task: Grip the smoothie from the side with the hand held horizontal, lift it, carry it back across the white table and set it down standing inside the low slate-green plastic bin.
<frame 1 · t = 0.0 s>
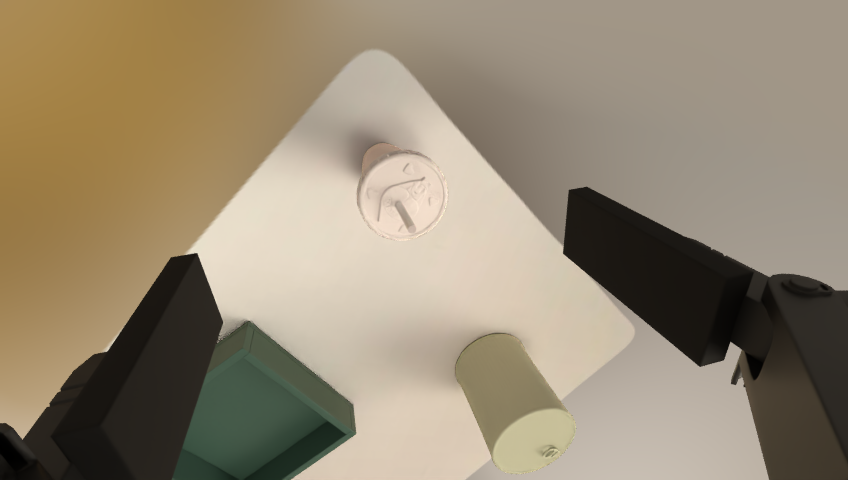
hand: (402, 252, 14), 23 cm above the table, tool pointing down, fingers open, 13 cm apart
can: (489, 362, 50), on the table
smoothie: (382, 163, 36), on the table
bin: (245, 409, 44), on the table
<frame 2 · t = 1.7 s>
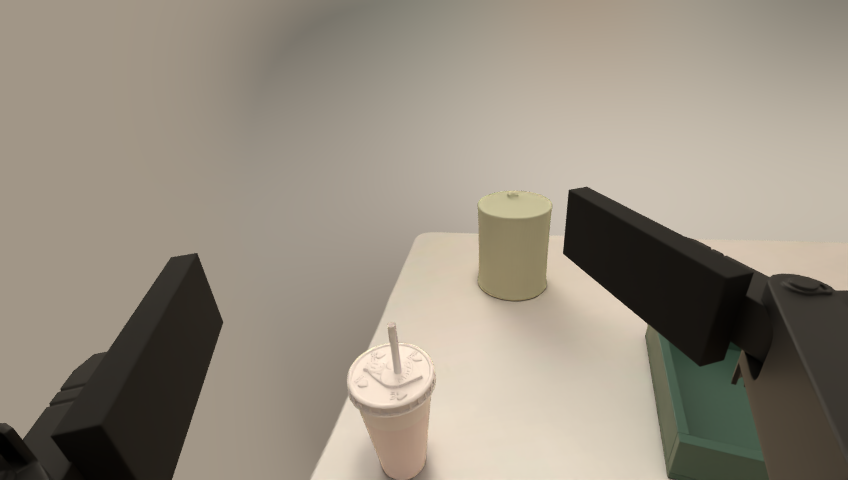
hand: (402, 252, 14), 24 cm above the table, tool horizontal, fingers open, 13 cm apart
can: (511, 282, 55), on the table
smoothie: (403, 459, 33), on the table
bin: (764, 416, 34), on the table
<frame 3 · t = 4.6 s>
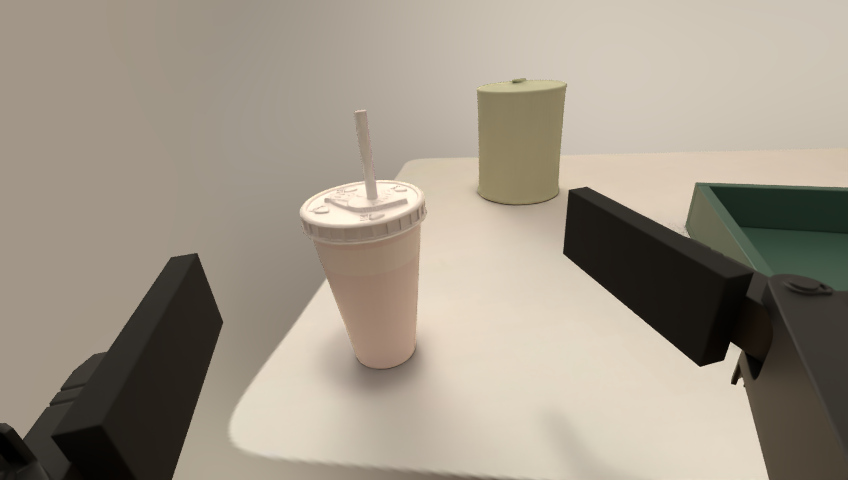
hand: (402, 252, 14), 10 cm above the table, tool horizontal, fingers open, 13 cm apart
can: (517, 191, 47), on the table
smoothie: (386, 349, 25), on the table
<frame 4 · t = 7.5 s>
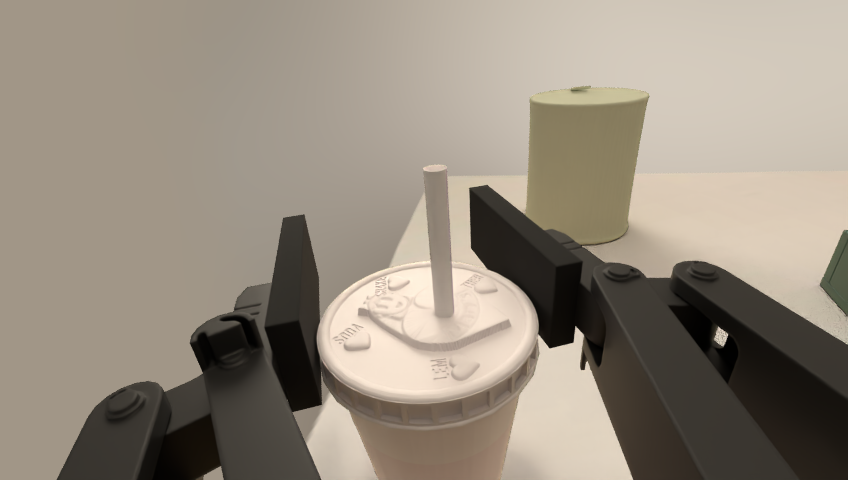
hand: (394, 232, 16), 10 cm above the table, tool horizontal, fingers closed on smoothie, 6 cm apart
can: (573, 224, 38), on the table
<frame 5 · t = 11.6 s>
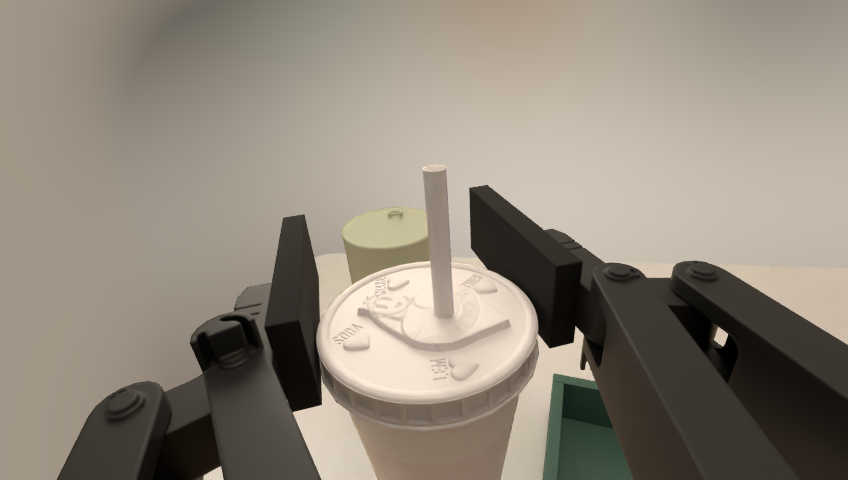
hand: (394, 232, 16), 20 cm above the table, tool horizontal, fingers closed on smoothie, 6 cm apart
can: (402, 324, 43), on the table
when the fingers open (11 cm above the table, at t = 15.8 s): smoothie stays where it is, resting on bin.
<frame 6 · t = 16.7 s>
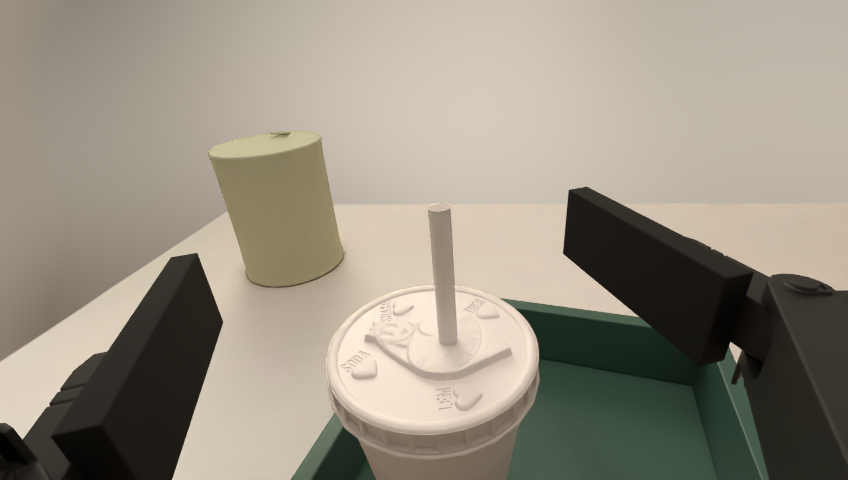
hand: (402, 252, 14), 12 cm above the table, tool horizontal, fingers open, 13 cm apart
can: (296, 262, 39), on the table
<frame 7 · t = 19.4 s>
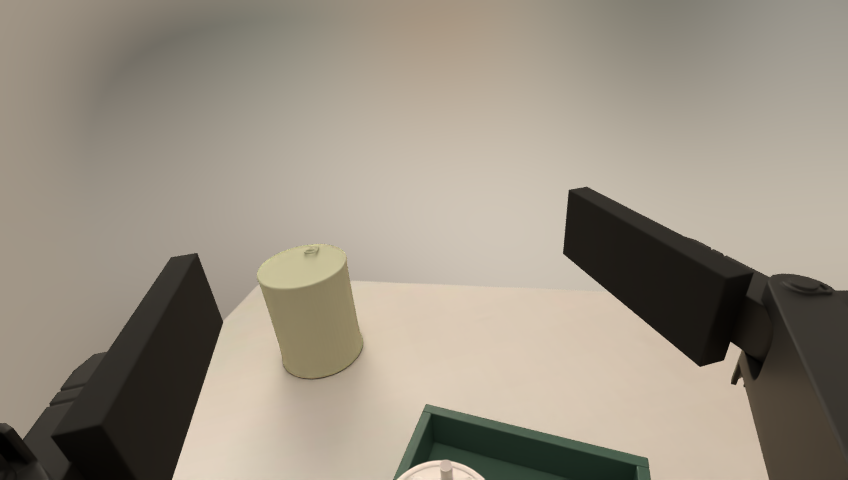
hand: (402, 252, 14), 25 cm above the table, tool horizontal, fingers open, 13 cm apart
can: (323, 350, 47), on the table
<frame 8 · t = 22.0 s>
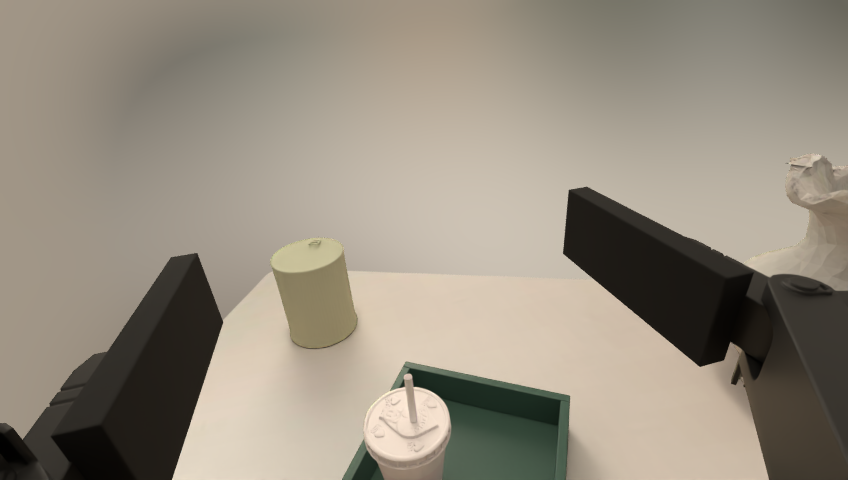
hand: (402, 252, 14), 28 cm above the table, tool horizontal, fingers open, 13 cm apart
can: (324, 326, 56), on the table
ceramic pitcher: (832, 394, 40), on the table
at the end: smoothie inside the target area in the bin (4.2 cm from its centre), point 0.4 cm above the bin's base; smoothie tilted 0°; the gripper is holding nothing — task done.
